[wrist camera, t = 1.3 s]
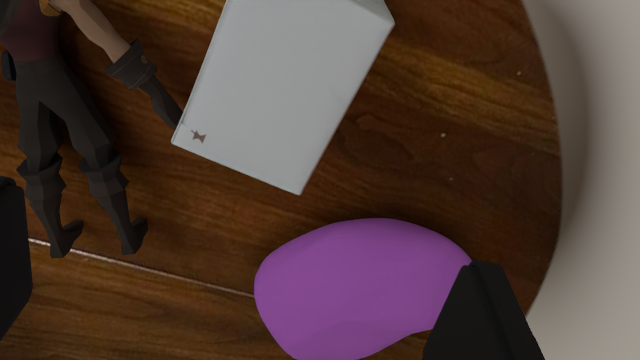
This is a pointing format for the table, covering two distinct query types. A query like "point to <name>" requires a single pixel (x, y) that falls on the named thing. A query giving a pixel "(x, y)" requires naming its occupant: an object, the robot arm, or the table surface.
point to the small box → (280, 84)
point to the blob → (355, 287)
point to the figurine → (72, 112)
